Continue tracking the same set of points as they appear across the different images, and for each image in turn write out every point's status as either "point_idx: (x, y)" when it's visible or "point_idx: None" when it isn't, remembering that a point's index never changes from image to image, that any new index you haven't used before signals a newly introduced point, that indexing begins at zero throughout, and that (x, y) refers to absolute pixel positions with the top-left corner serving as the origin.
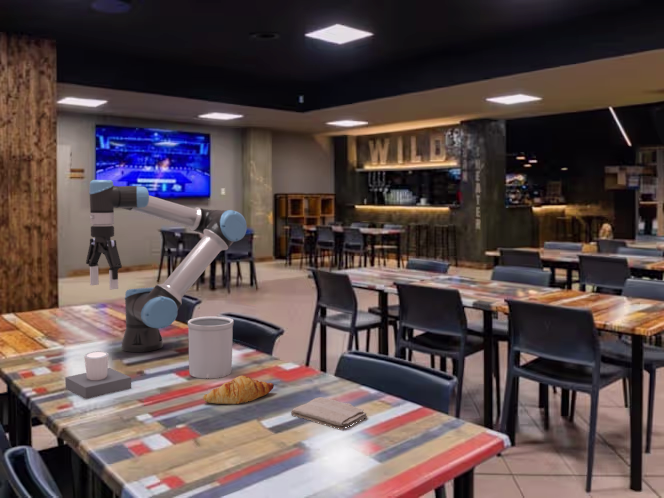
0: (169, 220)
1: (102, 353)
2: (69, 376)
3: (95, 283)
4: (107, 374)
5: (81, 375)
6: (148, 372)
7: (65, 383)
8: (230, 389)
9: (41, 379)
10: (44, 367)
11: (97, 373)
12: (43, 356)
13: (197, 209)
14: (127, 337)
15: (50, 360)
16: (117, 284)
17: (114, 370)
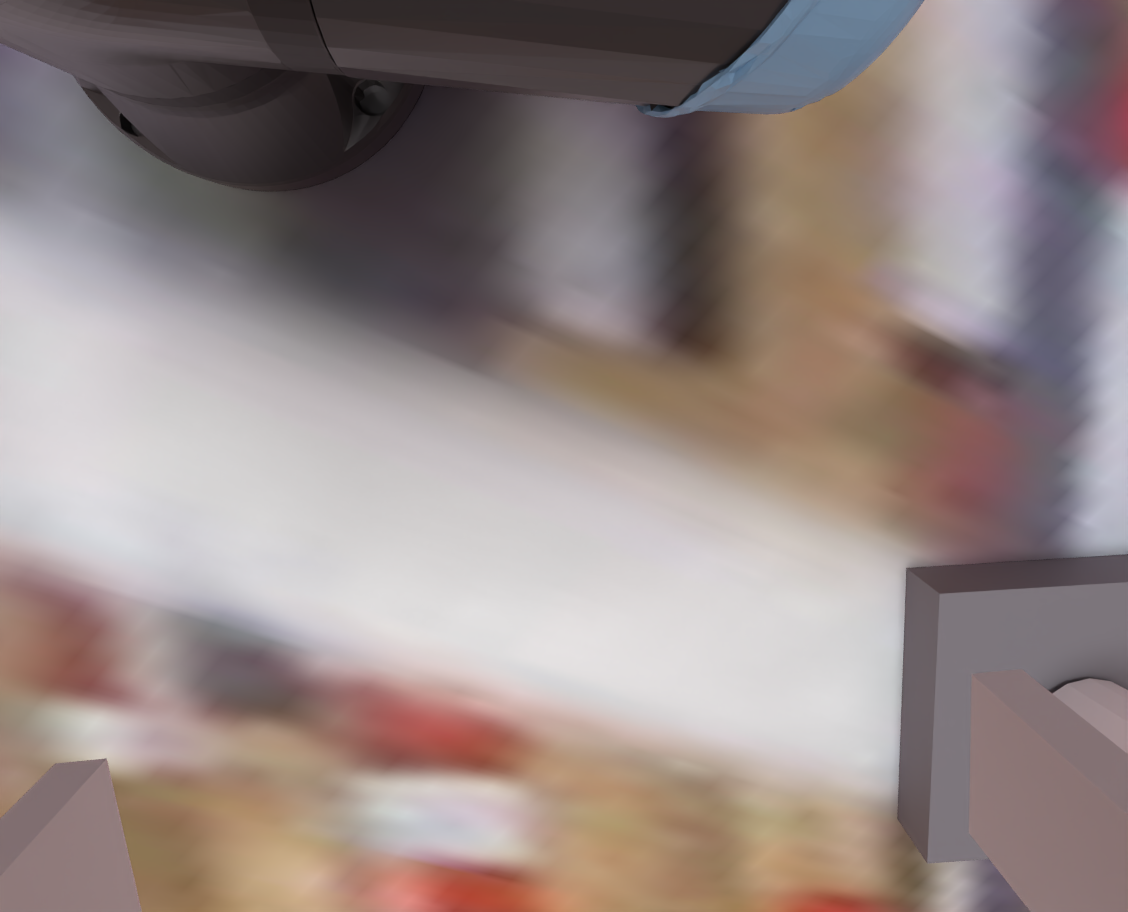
0: None
1: None
2: (933, 842)
3: (102, 849)
4: (1070, 661)
5: (967, 784)
6: (976, 321)
7: (909, 836)
8: None
9: (635, 867)
10: (378, 786)
11: None
12: (73, 713)
13: None
14: (261, 146)
15: (219, 709)
16: (1086, 737)
17: (1023, 594)
